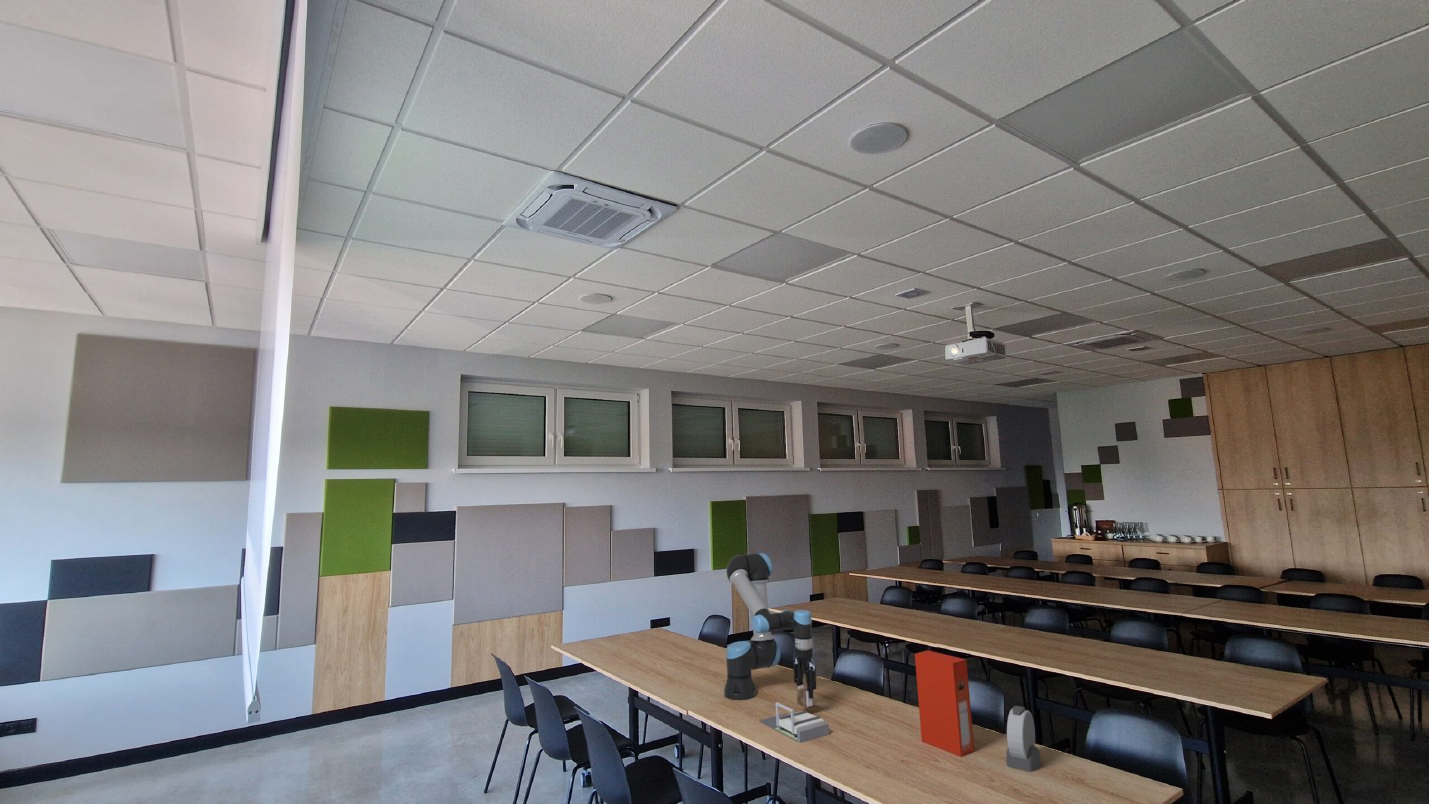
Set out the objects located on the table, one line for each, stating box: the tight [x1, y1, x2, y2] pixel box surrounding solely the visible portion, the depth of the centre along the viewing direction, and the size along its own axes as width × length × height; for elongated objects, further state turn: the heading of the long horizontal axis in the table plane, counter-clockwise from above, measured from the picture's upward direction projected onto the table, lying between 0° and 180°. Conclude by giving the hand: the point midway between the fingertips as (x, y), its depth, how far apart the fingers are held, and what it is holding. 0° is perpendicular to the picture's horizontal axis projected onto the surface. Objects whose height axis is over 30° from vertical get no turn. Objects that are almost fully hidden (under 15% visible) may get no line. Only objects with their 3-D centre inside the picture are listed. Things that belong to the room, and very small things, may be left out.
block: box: [796, 686, 815, 708], centre depth 270 cm, size 5×5×6 cm
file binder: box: [914, 649, 975, 758], centre depth 234 cm, size 8×17×32 cm, turn 32°
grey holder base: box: [758, 713, 830, 744], centre depth 254 cm, size 28×14×4 cm, turn 31°
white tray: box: [775, 701, 825, 737], centre depth 251 cm, size 13×15×10 cm
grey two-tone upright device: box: [1005, 705, 1042, 773], centre depth 217 cm, size 16×10×18 cm, turn 141°
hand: (805, 703), depth 270 cm, fingers closed on block, 5 cm apart
